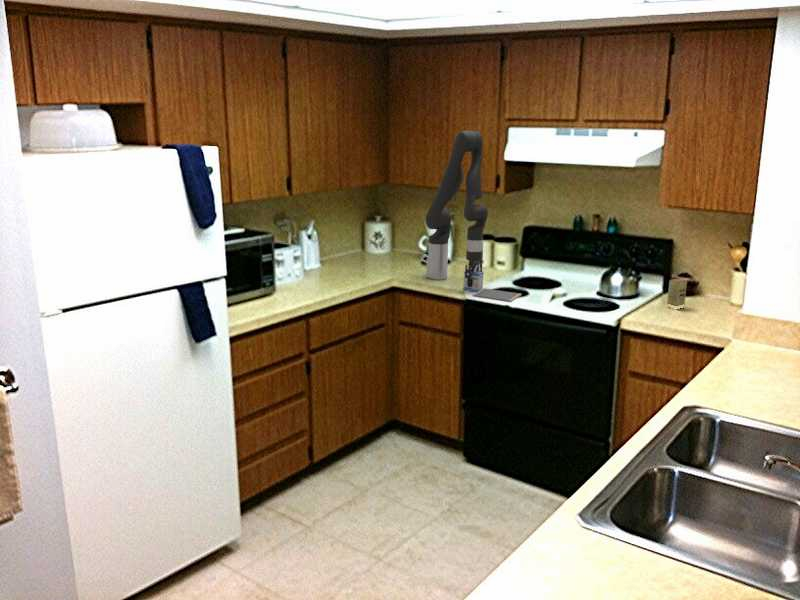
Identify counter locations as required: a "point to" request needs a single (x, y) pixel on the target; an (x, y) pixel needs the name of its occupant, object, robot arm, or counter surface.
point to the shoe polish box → (677, 292)
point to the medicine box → (474, 282)
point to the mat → (496, 295)
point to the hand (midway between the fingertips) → (473, 284)
